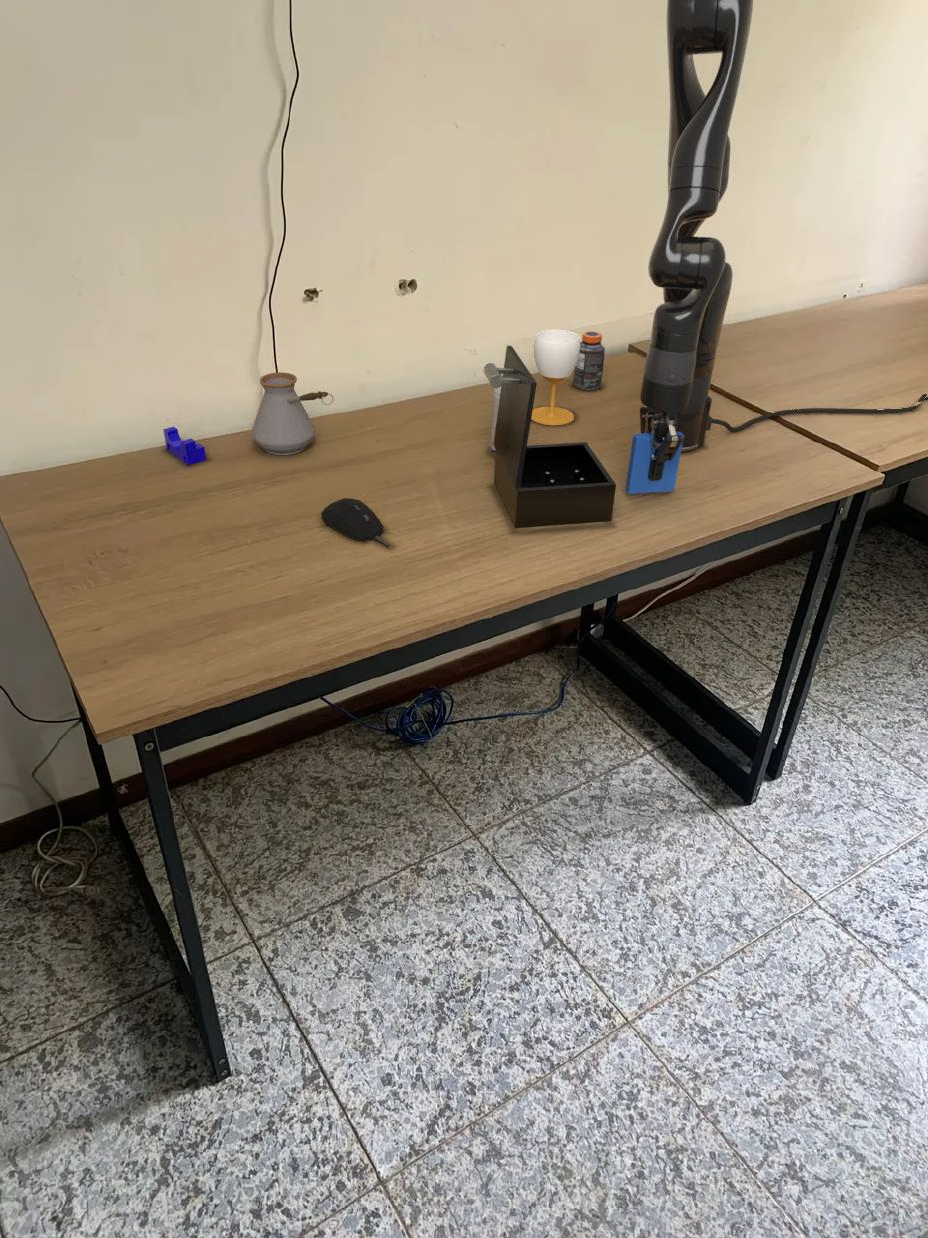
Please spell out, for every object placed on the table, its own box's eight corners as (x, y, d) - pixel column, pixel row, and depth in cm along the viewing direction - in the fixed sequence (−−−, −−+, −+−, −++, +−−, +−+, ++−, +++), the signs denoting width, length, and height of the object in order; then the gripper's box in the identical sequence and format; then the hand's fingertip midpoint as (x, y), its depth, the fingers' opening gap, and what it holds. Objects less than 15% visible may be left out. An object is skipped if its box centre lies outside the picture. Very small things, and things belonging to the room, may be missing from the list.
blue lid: (670, 486, 152) (680, 431, 146) (674, 491, 151) (684, 435, 145) (625, 489, 151) (633, 433, 145) (628, 494, 150) (636, 437, 144)
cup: (522, 420, 179) (527, 339, 169) (537, 404, 185) (542, 326, 176) (566, 428, 176) (574, 347, 167) (579, 412, 183) (587, 332, 173)
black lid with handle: (511, 345, 141) (478, 343, 140) (537, 382, 129) (500, 381, 128) (497, 444, 151) (466, 444, 150) (520, 488, 138) (485, 488, 137)
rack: (577, 493, 152) (580, 469, 149) (584, 504, 149) (586, 479, 147) (540, 496, 151) (542, 471, 148) (546, 506, 148) (548, 481, 146)
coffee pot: (241, 444, 167) (231, 364, 158) (294, 428, 173) (287, 350, 164) (305, 485, 154) (298, 401, 145) (360, 467, 160) (356, 385, 152)
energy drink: (516, 460, 164) (520, 397, 157) (487, 457, 165) (490, 394, 158) (521, 448, 168) (525, 385, 161) (492, 445, 169) (495, 383, 162)
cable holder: (206, 459, 161) (203, 438, 159) (188, 465, 159) (184, 444, 157) (184, 444, 166) (181, 424, 164) (166, 449, 164) (163, 429, 162)
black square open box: (582, 481, 158) (586, 441, 154) (610, 525, 145) (616, 484, 141) (493, 487, 155) (495, 447, 151) (514, 533, 143) (517, 491, 138)
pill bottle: (603, 383, 196) (609, 330, 189) (597, 392, 191) (603, 339, 185) (576, 379, 198) (581, 327, 191) (570, 388, 193) (575, 335, 186)
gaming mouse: (372, 554, 137) (371, 531, 134) (314, 518, 145) (312, 495, 143) (404, 540, 140) (404, 517, 138) (345, 505, 149) (343, 483, 146)
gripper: (709, 389, 135) (689, 494, 145) (675, 358, 146) (659, 457, 156) (661, 391, 133) (644, 497, 143) (630, 359, 144) (617, 459, 154)
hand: (652, 476), depth 149 cm, fingers closed on blue lid, 1 cm apart
